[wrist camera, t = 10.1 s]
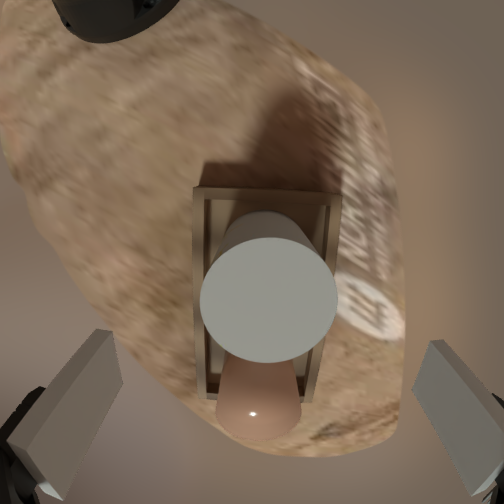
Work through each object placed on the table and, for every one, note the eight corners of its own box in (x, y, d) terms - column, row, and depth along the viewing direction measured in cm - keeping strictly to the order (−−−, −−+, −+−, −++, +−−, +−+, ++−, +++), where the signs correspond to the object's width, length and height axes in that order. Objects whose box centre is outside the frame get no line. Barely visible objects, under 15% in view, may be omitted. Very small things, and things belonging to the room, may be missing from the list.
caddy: (198, 185, 28) (193, 187, 26) (335, 193, 28) (342, 195, 26) (201, 385, 34) (198, 398, 32) (308, 389, 34) (311, 402, 32)
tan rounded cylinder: (226, 321, 31) (214, 381, 22) (293, 324, 31) (307, 384, 22) (225, 374, 33) (216, 438, 24) (287, 376, 33) (295, 440, 24)
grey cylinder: (218, 211, 28) (193, 240, 17) (306, 208, 28) (340, 235, 17) (224, 293, 31) (207, 363, 19) (306, 290, 30) (332, 358, 19)
